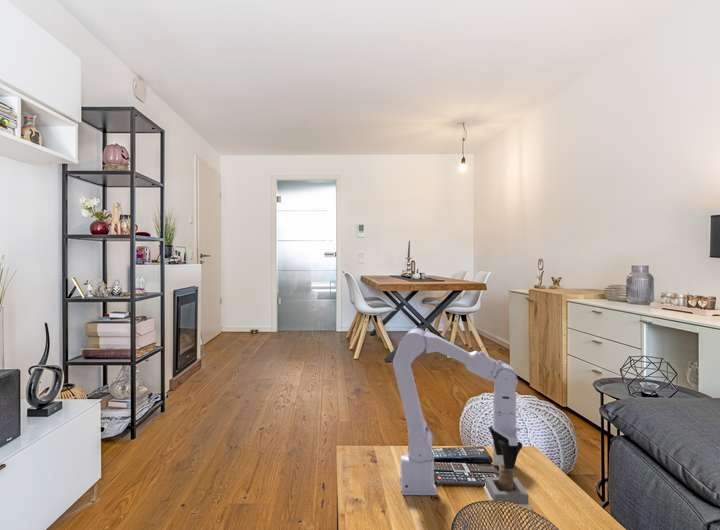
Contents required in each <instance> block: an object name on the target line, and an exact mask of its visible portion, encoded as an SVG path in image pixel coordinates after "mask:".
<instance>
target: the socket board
mask: <svg viewBox="0 0 720 530" xmlns="http://www.w3.org/2000/svg"><path fill="white" fill-rule="evenodd" d="M484 478H485V482H484V483H485V486H484V487H483V489H484V491H485V493H486V495H487V497H488V499H489V501H490V500H493V501H502V502H509V503H513V504H516V505H519V506H522V507H525V508H528V509H531V510H532V511H533V509H532V506H531V504H529V494H528V491H527V490H526V489H525V488H524V486H523V485H522V483H521V481H520V480H519V479H518V477H513V491H499V476H498V477H495V476H494V477H492V476H491V477H489V476H488V477H484Z"/></svg>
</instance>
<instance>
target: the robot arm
mask: <svg viewBox="0 0 720 530" xmlns="http://www.w3.org/2000/svg"><path fill="white" fill-rule="evenodd" d="M425 350H426V351H425ZM424 351H425V353H426V354H430V353H436V352H437V353H440V354H443V355H445V356H447V357H450V358H452V359H454V360H456V361H458V362H460V363H463V364H464V365H465V368H466V369H467V371H468V372H471V373H473V374H475V375H477V376H478V377H480V378H482V379H485V380H487V381H489V382H493V383H494V385H493V387H494V391H493V392H492V393H493V406H492V407H493V413H492V414H493V415H492V417H493V419H492V420H493V421H492V426H489V427H488V430H489V431H490V434H491V437H492V442H493V441H494V446H495V451H496V454H497V455H503V461H504V466H505V468H506V469H513V470H514V468H515V466H516V461H517V457H518V455H519V453H520V451H521V450H522V449H523V443H522V442H520V441H518V436H517V434H518V433H517V432H520V431H522V430H521V429H522V428H521V427H520V426H519V425H517V394H516V390H517V388H516V387H517V385H518V382H519V379H518V376H517V374H516V372H515V370H514V368H513V367H512V366H511V365H510V364H508V362H503V361H502V360H500V359H498V360H496V359H494V358H493V357H490V356H487V355H486V352H485V351H483V350H480V352H479V351H477V350H474V351H467V350H465V349H463V348H461V347H459V346H458V345H456V344H454V343H452V342H450V341H449V340H446V339H445V338H443V337H441V336H439V335H436V334H435V333H433V332H431V331H427V330H426V331H425V330H424V329H423V328H420V327H413V328H411V329H409V331H407V333H405V335H404V336H403V337H402V338H401V340H400V341H399V343H398V346H397V348H396V351H395V354H394V357H393V360H392V367H393V373H394V376H395V380H396V383H397V387H398V388H397V389H398V392H399V396H400V399H401V403H402V404H401V406H402V408H403V412H404V416H405V421H406V424H407V438H408V444H407V454H403V455H400V459H399V461H400V465H399V466H400V467H399V468H400V469H399V470H400V476H399V483H400V487H401V489H400V490H401V494H402V495H403V496H438V491H437V487H436V484H434V483H435V454H434V453H433V450H432V446H433V445H432V444H433V442H434V435H433V433H432V431H431V430H430V428H429V427H428V423H427V421H426V419H425V417H424V413H423V409H422V406H421V405H422V404H421V401H420V396H419V393H418V389H417V386H416V385H417V384H416V382H415V377H414V373H413V368H412V363H413V362H414V360H415V358H417V357H419V356H420V355H421V354H422V353H424Z"/></svg>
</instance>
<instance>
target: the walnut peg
mask: <svg viewBox="0 0 720 530" xmlns="http://www.w3.org/2000/svg"><path fill="white" fill-rule="evenodd" d="M498 477H499V491H513V478H514V469H506V468H505V466H500V467H499V468H498Z"/></svg>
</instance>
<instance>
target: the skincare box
mask: <svg viewBox="0 0 720 530" xmlns="http://www.w3.org/2000/svg"><path fill="white" fill-rule="evenodd" d="M492 442H493V443H492V445H493V446H492V447H493V448H492V449H493V450H492V451H493V453H492V457H493V459H492V460H493V465H498V466H499V467H500V466H504V461H503V455H497V454H496V451H495V446H494V441H493V440H492Z"/></svg>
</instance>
